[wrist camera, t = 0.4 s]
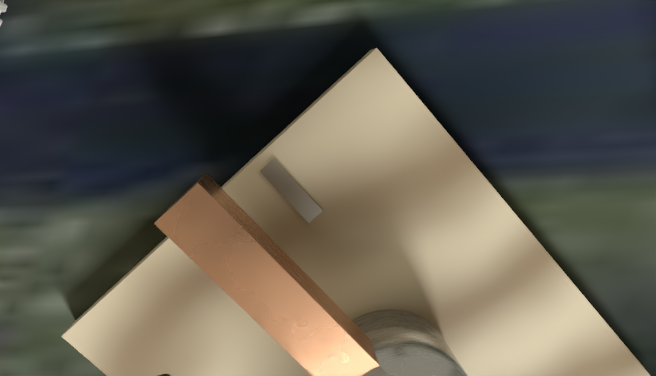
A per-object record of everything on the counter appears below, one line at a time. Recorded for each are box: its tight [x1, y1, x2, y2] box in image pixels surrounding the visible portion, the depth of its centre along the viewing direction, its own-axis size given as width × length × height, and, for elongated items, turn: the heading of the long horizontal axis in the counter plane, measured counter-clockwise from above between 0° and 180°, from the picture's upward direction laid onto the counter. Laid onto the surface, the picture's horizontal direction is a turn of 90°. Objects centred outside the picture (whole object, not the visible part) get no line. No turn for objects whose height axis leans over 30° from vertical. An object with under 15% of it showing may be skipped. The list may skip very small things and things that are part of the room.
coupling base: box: [62, 48, 650, 376], centre depth 25 cm, size 22×18×2 cm
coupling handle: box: [154, 173, 467, 376], centre depth 21 cm, size 15×6×4 cm, turn 42°
